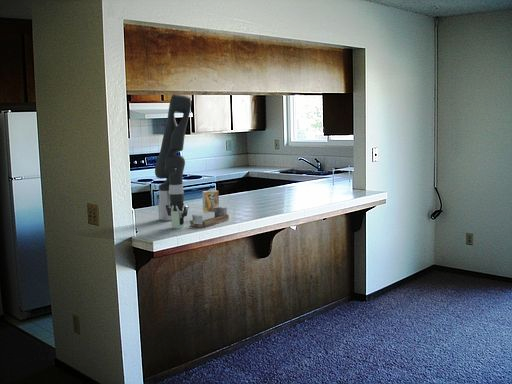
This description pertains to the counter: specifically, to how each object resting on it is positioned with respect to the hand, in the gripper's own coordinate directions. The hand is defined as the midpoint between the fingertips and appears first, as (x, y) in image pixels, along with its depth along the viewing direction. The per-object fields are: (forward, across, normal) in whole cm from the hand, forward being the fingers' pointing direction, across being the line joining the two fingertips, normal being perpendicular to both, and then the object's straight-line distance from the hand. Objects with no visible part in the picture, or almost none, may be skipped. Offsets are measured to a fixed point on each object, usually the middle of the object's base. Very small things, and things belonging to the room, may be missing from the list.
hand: (177, 223), depth 326 cm
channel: (+2, +9, +17) cm, 20 cm away
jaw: (0, +10, +11) cm, 15 cm away
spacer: (+2, 0, 0) cm, 2 cm away
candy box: (+2, 0, +33) cm, 33 cm away
